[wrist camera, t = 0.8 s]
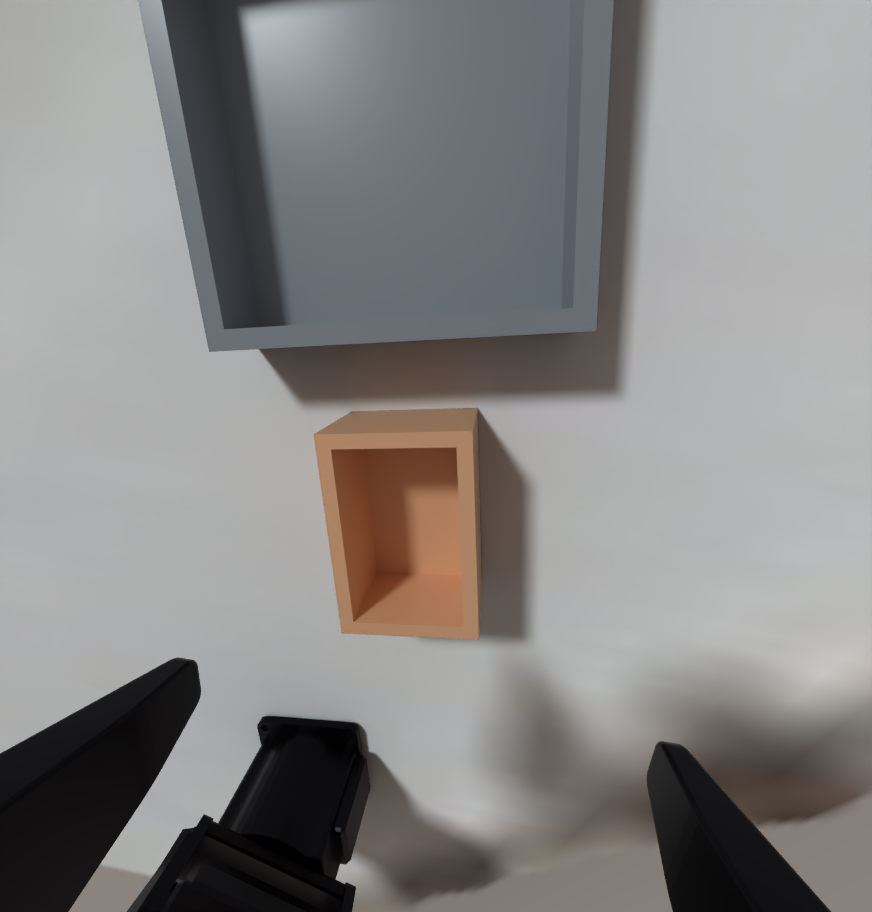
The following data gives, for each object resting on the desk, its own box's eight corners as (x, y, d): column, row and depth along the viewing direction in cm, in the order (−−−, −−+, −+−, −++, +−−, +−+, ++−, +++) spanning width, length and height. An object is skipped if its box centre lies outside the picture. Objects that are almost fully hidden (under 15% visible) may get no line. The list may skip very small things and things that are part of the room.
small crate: (370, 575, 23) (341, 633, 19) (351, 411, 20) (313, 434, 16) (481, 578, 22) (478, 640, 18) (477, 407, 19) (472, 430, 15)
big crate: (256, 347, 20) (209, 351, 17) (188, -56, 16) (106, -158, 12) (577, 330, 18) (596, 331, 15) (596, -141, 14) (628, -289, 10)
